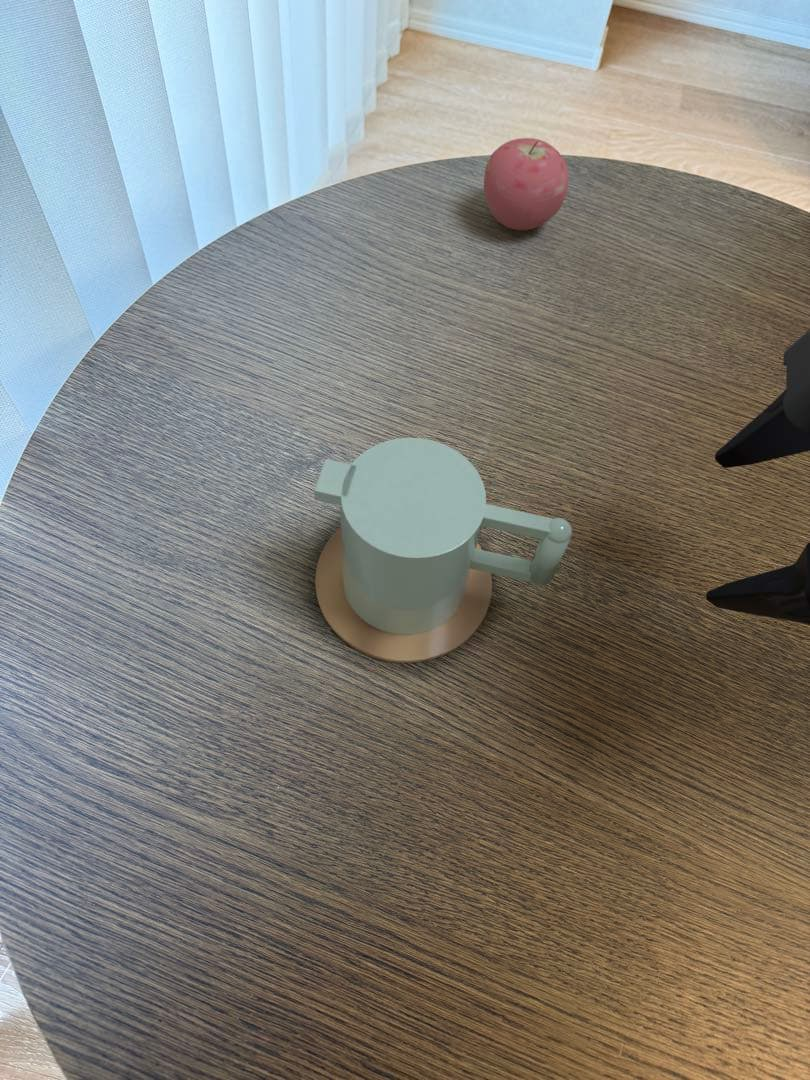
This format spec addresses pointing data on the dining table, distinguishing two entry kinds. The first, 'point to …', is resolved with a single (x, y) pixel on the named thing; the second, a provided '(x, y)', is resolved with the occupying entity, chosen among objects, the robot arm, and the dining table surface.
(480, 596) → the coaster
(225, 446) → the dining table surface
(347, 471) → the jug
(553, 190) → the apple
